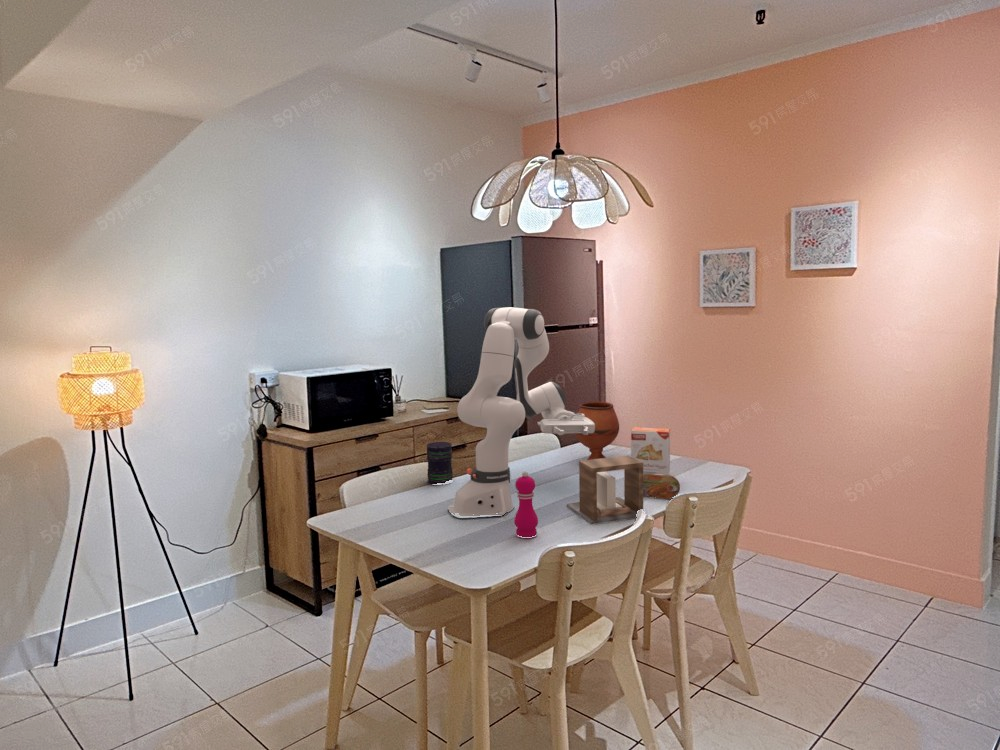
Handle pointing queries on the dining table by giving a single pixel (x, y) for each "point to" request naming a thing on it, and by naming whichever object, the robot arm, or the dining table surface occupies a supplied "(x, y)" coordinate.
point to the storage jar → (439, 462)
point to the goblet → (599, 427)
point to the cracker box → (651, 449)
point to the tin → (660, 486)
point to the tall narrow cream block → (606, 492)
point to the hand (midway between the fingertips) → (574, 433)
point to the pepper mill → (525, 507)
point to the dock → (629, 503)
